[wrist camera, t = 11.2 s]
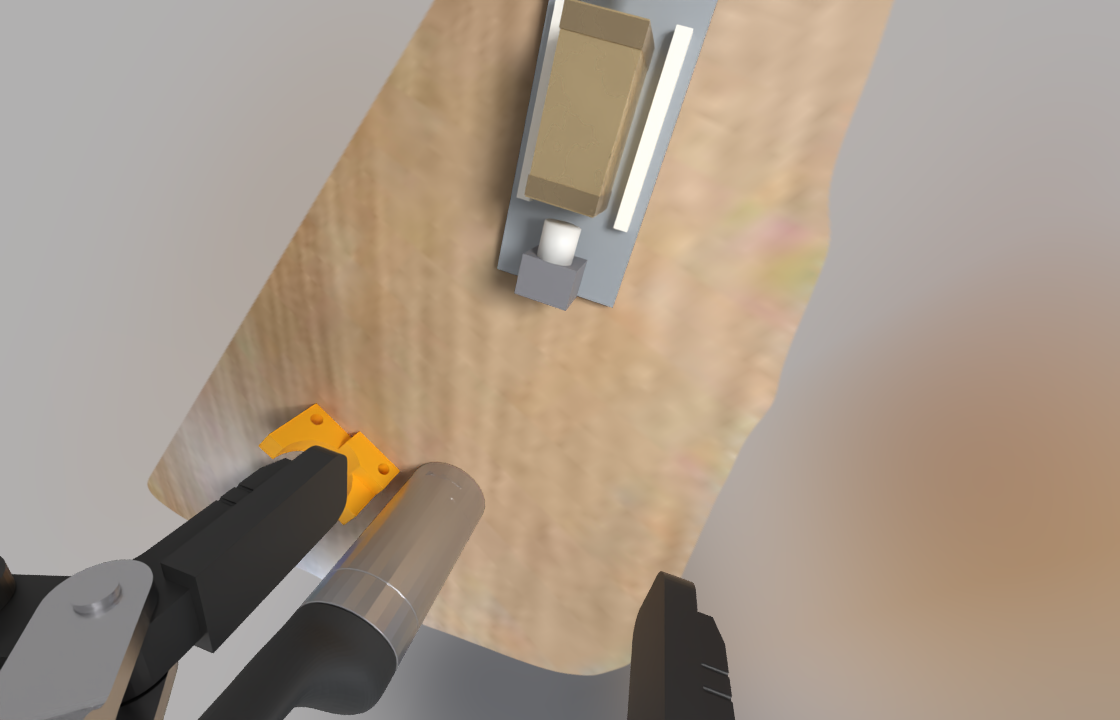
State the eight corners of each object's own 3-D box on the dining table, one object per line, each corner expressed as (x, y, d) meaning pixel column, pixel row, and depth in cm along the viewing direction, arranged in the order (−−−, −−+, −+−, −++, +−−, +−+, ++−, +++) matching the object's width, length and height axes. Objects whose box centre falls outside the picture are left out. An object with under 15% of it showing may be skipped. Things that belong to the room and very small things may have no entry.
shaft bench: (614, 304, 35) (604, 324, 30) (501, 266, 36) (476, 280, 31) (748, -89, 24) (764, -148, 19) (579, -127, 25) (557, -192, 20)
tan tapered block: (585, 27, 27) (565, -4, 22) (655, 46, 26) (650, 18, 21) (547, 191, 31) (523, 196, 26) (606, 209, 31) (593, 218, 26)
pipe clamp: (400, 470, 49) (364, 510, 43) (380, 485, 51) (343, 525, 45) (324, 394, 47) (276, 426, 42) (306, 413, 49) (258, 445, 43)
